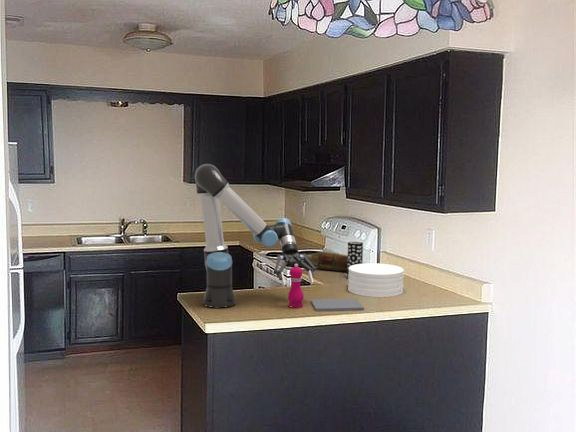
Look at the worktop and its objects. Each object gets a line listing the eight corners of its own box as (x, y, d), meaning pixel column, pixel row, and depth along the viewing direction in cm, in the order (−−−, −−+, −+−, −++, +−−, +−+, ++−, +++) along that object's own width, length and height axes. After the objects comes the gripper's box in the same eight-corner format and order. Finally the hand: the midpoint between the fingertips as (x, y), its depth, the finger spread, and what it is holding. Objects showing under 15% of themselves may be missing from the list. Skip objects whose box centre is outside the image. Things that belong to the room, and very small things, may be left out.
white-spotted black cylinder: (360, 280, 335) (361, 244, 333) (345, 279, 338) (346, 243, 336) (363, 277, 343) (364, 242, 341) (349, 276, 346) (349, 241, 343)
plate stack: (346, 295, 302) (347, 273, 300) (349, 283, 329) (349, 262, 328) (404, 298, 298) (405, 275, 296) (401, 285, 325) (402, 264, 324)
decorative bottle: (358, 265, 361) (292, 256, 383) (355, 251, 356) (288, 243, 377) (352, 277, 354) (284, 267, 375) (349, 263, 348) (280, 254, 370)
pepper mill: (290, 308, 276) (290, 265, 274) (286, 304, 283) (286, 262, 281) (305, 307, 279) (306, 264, 276) (300, 303, 285) (301, 261, 283)
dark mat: (315, 311, 273) (315, 308, 273) (310, 301, 289) (310, 299, 289) (363, 310, 275) (363, 307, 275) (356, 301, 291) (356, 298, 291)
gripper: (311, 250, 299) (321, 287, 287) (262, 252, 292) (270, 290, 279) (315, 241, 293) (325, 278, 281) (265, 243, 286) (273, 282, 274)
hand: (298, 284), depth 280 cm, fingers open, 13 cm apart
